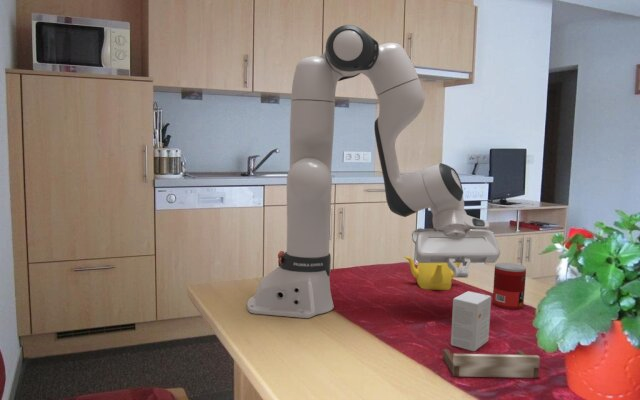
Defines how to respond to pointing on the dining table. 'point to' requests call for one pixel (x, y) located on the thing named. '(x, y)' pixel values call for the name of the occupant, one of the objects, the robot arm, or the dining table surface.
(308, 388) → the dining table surface
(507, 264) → the canned food
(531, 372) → the bay
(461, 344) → the small box
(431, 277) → the teapot
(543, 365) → the dining table surface
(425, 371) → the dining table surface
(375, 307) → the dining table surface
